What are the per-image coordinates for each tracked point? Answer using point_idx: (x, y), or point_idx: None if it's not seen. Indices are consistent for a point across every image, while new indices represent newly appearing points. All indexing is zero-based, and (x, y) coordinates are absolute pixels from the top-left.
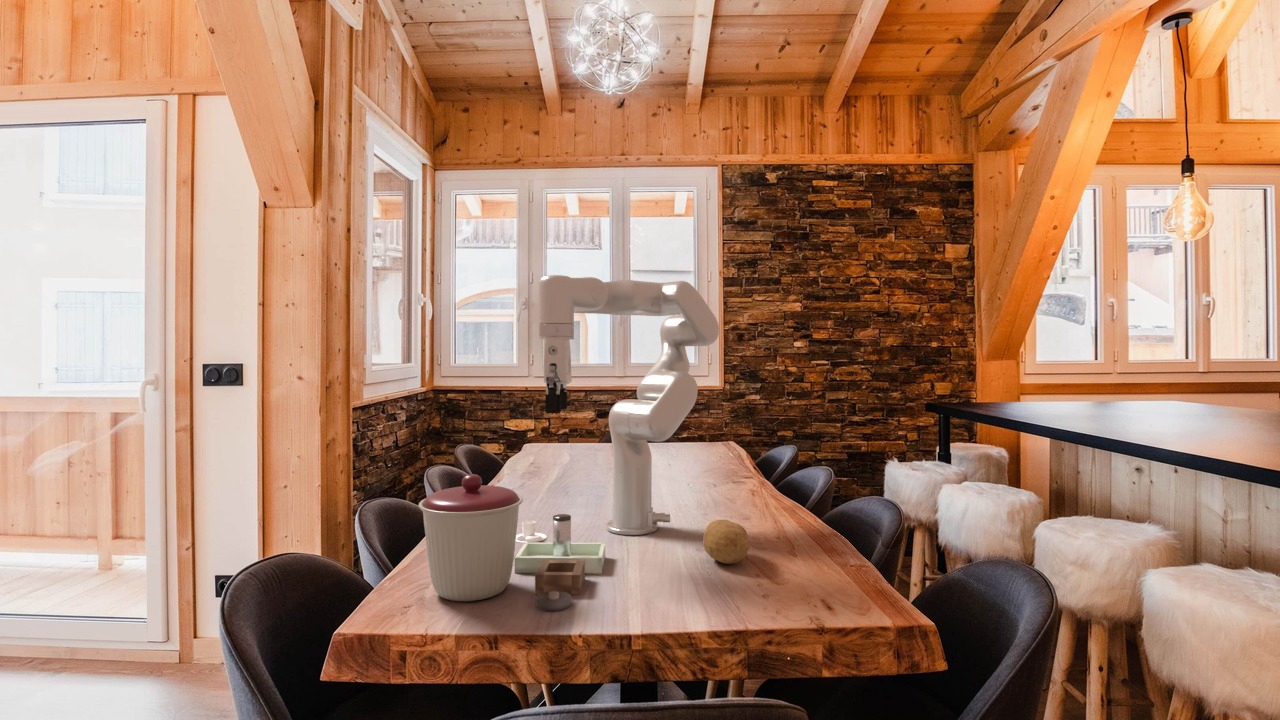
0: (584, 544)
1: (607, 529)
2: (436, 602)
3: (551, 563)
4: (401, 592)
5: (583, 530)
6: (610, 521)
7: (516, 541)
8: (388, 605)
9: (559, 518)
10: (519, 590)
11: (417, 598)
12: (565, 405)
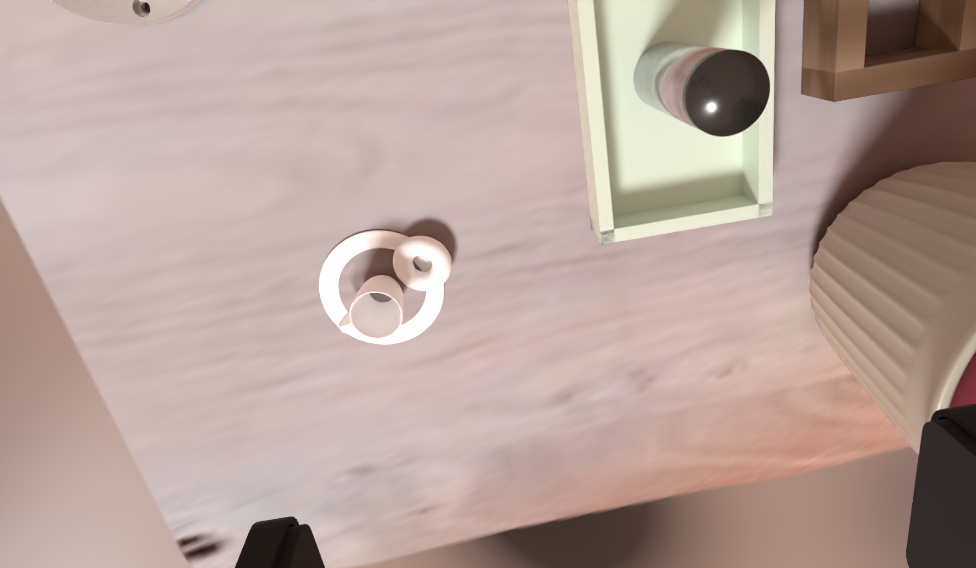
0: (593, 8)
1: (191, 8)
2: None
3: (862, 59)
4: None
5: (221, 120)
6: (103, 13)
7: (437, 313)
8: None
9: (768, 93)
10: (899, 130)
11: None
12: (294, 565)
